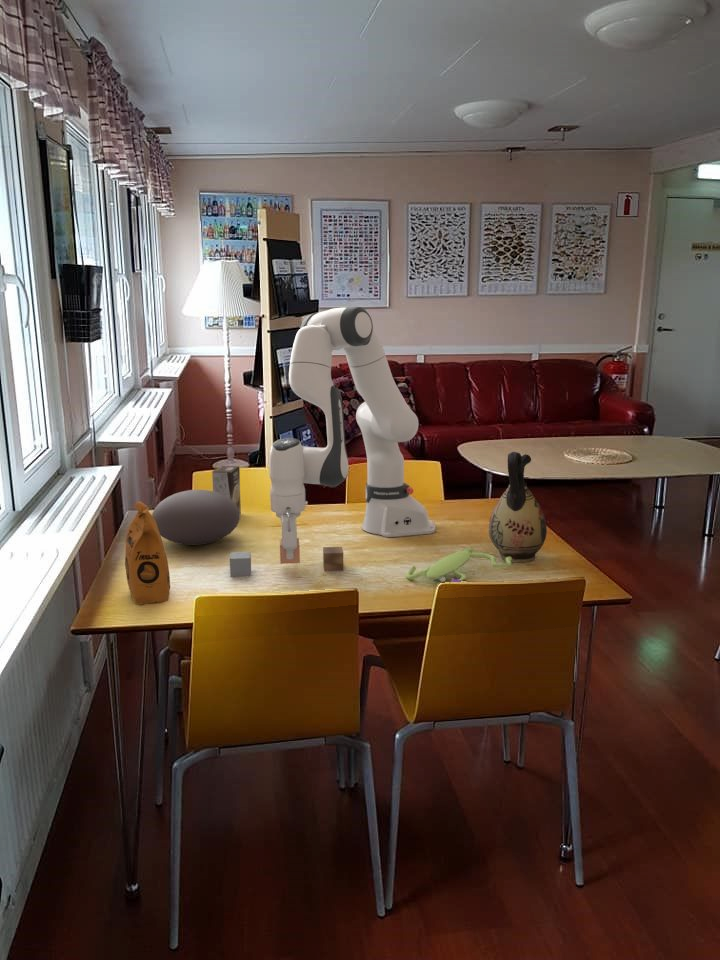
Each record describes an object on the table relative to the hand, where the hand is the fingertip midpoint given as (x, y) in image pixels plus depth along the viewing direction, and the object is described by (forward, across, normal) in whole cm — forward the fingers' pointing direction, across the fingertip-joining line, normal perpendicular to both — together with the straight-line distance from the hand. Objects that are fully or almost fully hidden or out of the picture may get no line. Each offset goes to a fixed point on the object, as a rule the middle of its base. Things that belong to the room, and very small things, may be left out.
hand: (289, 554), depth 197 cm
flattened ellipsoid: (+4, +26, +26) cm, 38 cm away
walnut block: (+5, +1, -11) cm, 12 cm away
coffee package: (+4, -14, +34) cm, 37 cm away
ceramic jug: (+6, +3, -61) cm, 62 cm away
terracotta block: (+2, 0, 0) cm, 2 cm away
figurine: (+6, -8, -44) cm, 45 cm away
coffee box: (+5, +50, +19) cm, 54 cm away
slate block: (+4, -1, +13) cm, 13 cm away
